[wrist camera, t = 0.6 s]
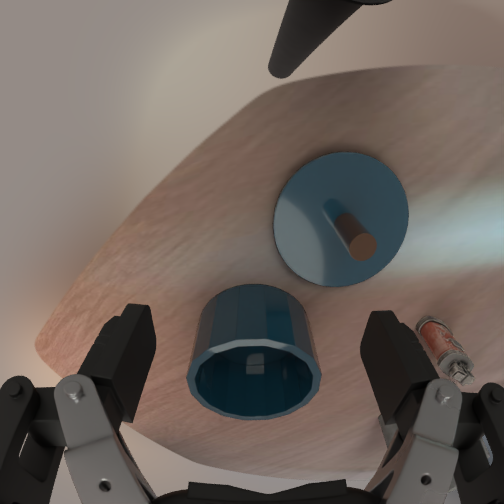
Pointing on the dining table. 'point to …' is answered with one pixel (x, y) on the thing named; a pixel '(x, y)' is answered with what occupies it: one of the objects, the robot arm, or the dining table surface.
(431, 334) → the lighter
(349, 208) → the pot lid
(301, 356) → the pot
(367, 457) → the dining table surface
